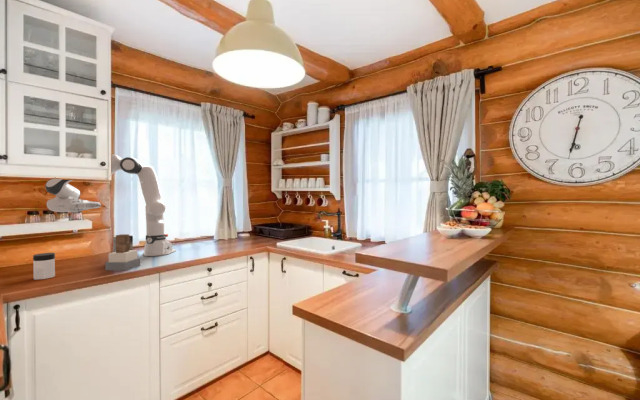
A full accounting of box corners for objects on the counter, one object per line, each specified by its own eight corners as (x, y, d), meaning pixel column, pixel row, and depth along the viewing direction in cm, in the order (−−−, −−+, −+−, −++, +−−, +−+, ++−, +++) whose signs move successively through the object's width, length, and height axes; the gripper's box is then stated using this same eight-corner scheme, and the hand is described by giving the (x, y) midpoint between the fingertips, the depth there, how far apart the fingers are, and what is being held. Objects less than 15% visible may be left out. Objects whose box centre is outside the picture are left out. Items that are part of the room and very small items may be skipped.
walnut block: (121, 251, 168) (121, 234, 168) (129, 251, 168) (128, 234, 168) (115, 252, 164) (115, 235, 164) (123, 252, 164) (123, 235, 163)
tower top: (121, 258, 172) (121, 250, 172) (137, 258, 172) (137, 250, 171) (108, 262, 162) (108, 253, 162) (125, 262, 162) (125, 253, 161)
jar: (27, 280, 142) (27, 256, 142) (39, 275, 150) (39, 253, 149) (49, 279, 144) (48, 255, 144) (59, 274, 152) (59, 252, 152)
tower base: (122, 265, 173) (122, 257, 173) (140, 266, 172) (140, 258, 172) (105, 271, 161) (105, 262, 161) (124, 271, 160) (124, 262, 160)
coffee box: (121, 263, 178) (120, 237, 178) (112, 262, 179) (112, 237, 179) (133, 259, 187) (133, 235, 187) (125, 259, 188) (125, 235, 188)
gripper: (56, 200, 167) (76, 200, 166) (88, 200, 188) (107, 200, 186) (56, 211, 168) (77, 211, 166) (88, 209, 188) (107, 209, 186)
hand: (93, 205), depth 176 cm, fingers open, 8 cm apart
